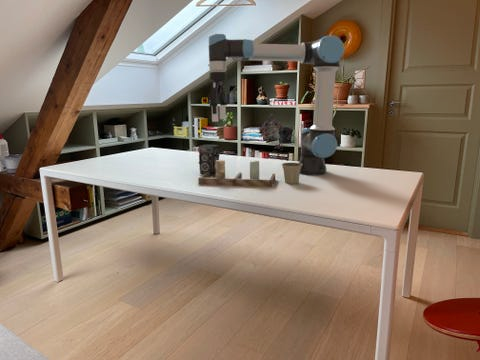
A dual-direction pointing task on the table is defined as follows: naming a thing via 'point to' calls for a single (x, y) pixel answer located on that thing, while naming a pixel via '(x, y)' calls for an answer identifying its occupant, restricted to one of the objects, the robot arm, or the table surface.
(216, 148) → the camera
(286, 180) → the flower pot
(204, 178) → the rack
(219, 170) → the beech post
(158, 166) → the table surface
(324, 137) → the robot arm
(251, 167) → the sage post
